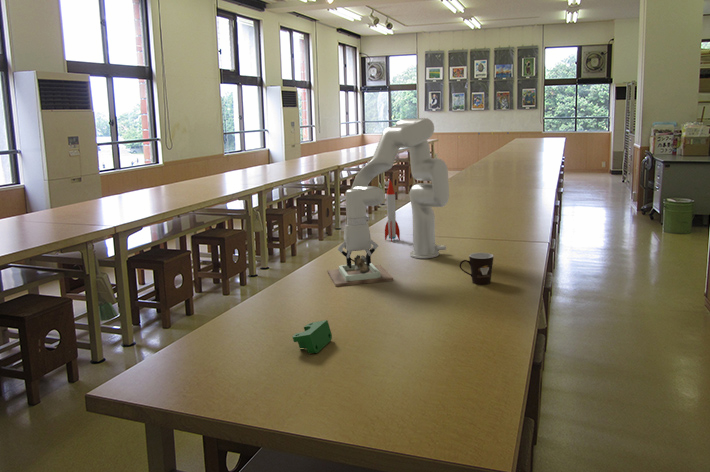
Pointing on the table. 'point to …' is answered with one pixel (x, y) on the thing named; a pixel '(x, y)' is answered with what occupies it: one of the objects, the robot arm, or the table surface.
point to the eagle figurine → (361, 264)
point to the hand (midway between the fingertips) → (358, 265)
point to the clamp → (314, 336)
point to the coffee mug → (480, 267)
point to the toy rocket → (391, 215)
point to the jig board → (358, 275)
